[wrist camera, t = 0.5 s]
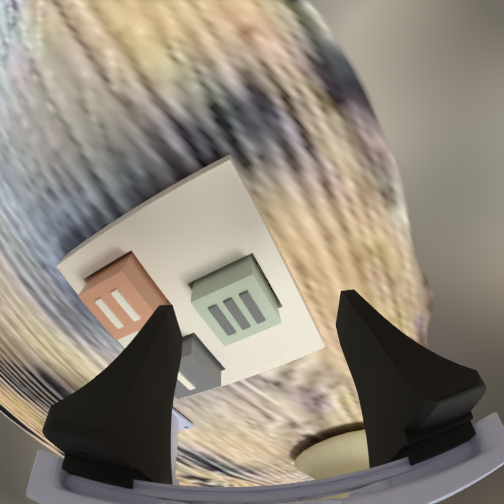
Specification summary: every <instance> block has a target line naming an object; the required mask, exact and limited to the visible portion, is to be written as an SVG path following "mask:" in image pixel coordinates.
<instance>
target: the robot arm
mask: <svg viewBox="0 0 504 504" xmlns="http://www.w3.org/2000/svg"><path fill="white" fill-rule="evenodd" d="M336 328H337V333H338V337H339V341H340V345H341V348H342V351H343V353H344V356H345V359H346V361H347V364H348V367H349V369H350V372H351V375H352V377H353V380H354V383H355V386H356V389H357V392H358V397H359V401H360V406H361V410H362V415H363V421H364V426H365V433H366V439H367V447H368V457H369V469H365V470H361V471H357V472H353V473H349V474H344V475H339V476H334V477H329V478H324V479H318V480H312V481H305V482H298V483H289V484H280V485H269V486H253V487H198V486H182V485H179V479H176V478H175V468H176V454H177V441H178V431H180V430H185V429H190V428H193V423H191V422H190V421H189V420H187V419H186V418H185V417H183V416H182V415H181V414H180V413H178V412H177V411H176V410H175V409H173V408H172V406H173V399H174V393H175V388H176V383H177V378H178V373H179V367H180V362H181V356H182V341H183V337H182V334H181V330H180V327H179V324H178V321H177V318H176V314H175V311H174V308H173V305H159V306H158V307H157V309H156V310H155V311H154V312H153V314H152V315H151V316H150V318H149V319H148V320H147V322H146V323H145V324H144V326H143V327H142V328H141V330H140V331H139V332H138V333H137V335H136V336H135V337H134V338H133V340H132V341H131V342H130V343H129V344H128V346H127V347H126V348H125V349H124V350H123V351H122V353H121V354H120V355H119V356H118V357H117V358H116V359H115V360H114V361H113V362H112V363H111V364H110V365H109V366H108V367H107V368H106V369H104V370H103V371H102V372H101V373H100V374H99V375H97V376H96V377H95V378H94V379H92V380H91V381H90V382H89V383H87V384H86V385H85V386H83V387H82V388H80V389H79V390H77V391H76V392H74V393H73V394H71V395H70V396H68V397H66V398H64V399H63V400H61V401H59V402H57V403H56V404H54V405H52V406H51V408H50V410H49V413H48V416H47V418H46V421H45V424H44V427H43V434H44V436H45V437H46V438H47V439H48V440H49V441H50V442H51V443H53V444H54V445H55V446H56V447H58V448H59V449H60V450H61V451H63V452H64V453H65V458H64V459H63V458H60V457H58V456H56V455H53V454H50V453H47V452H44V451H41V450H38V451H37V455H36V458H35V462H34V465H33V468H32V472H31V476H30V480H29V484H28V488H27V493H26V496H27V497H29V498H31V499H33V500H35V501H37V502H39V503H41V504H275V503H285V502H295V501H302V500H309V499H315V498H322V497H327V496H332V495H337V494H342V493H346V492H350V493H349V497H345V498H339V499H337V498H332V499H322V500H315V501H308V502H301V503H293V504H435V503H437V502H439V501H441V500H443V499H446V498H448V497H450V496H451V495H454V494H455V493H457V492H459V491H461V490H463V489H465V488H467V487H468V486H470V485H472V484H474V483H475V482H477V481H479V480H480V479H482V478H484V477H485V476H487V475H488V474H490V473H491V472H493V471H495V470H496V469H497V468H499V467H500V466H502V465H503V464H504V427H503V425H502V423H501V420H500V418H499V416H498V414H497V413H496V412H495V413H493V414H491V415H489V416H487V417H486V418H484V419H482V420H480V421H478V422H477V423H475V424H474V425H472V423H471V421H470V420H471V419H472V418H473V415H472V413H471V410H472V408H473V407H474V406H475V405H476V404H477V403H478V402H479V400H480V399H481V398H482V396H483V395H484V393H485V390H486V386H485V384H484V382H483V381H482V379H481V377H480V375H479V374H478V372H477V371H476V370H474V369H471V368H468V367H465V366H462V365H459V364H457V363H454V362H452V361H450V360H448V359H445V358H443V357H441V356H439V355H437V354H435V353H434V352H432V351H430V350H428V349H426V348H425V347H423V346H421V345H420V344H418V343H417V342H415V341H414V340H412V339H411V338H409V337H408V336H406V335H405V334H404V333H402V332H401V331H400V330H399V329H397V328H396V327H395V326H394V325H392V324H391V323H390V322H389V321H388V320H386V319H385V318H384V317H383V316H382V315H381V314H380V313H379V312H377V311H376V310H375V309H374V308H373V307H372V306H371V305H370V304H369V303H368V302H367V301H366V300H365V299H364V298H363V297H361V296H360V295H359V294H358V293H357V292H356V291H355V290H346V291H341V294H340V301H339V308H338V314H337V320H336ZM351 491H352V492H351Z"/></svg>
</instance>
